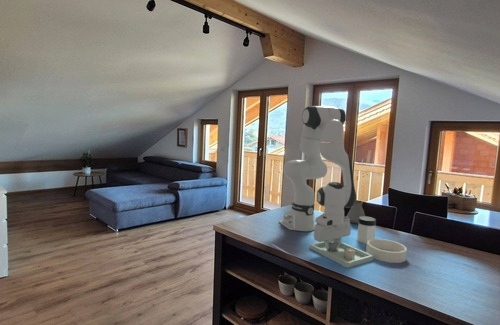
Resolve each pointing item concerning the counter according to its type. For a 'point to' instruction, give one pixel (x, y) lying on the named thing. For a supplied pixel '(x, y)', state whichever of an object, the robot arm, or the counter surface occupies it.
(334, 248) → the grey ball
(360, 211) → the coffee pot
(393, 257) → the bowl
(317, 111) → the robot arm
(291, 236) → the counter surface
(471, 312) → the counter surface
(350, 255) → the stone sand
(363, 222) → the jar
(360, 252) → the parts tray
